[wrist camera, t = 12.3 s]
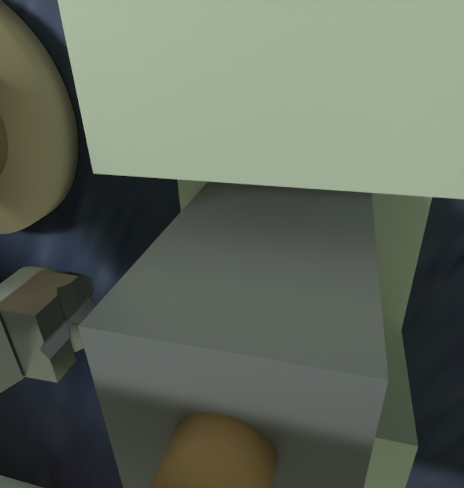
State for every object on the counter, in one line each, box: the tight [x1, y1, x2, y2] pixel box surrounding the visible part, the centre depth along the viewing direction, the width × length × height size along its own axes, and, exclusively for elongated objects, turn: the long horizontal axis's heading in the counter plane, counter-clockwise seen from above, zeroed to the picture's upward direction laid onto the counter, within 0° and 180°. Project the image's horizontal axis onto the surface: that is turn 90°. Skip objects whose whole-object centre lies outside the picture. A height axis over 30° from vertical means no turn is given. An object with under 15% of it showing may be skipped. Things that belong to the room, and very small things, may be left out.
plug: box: [78, 182, 388, 488], centre depth 8 cm, size 4×4×8 cm
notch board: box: [58, 0, 464, 488], centre depth 10 cm, size 7×16×5 cm, turn 2°
